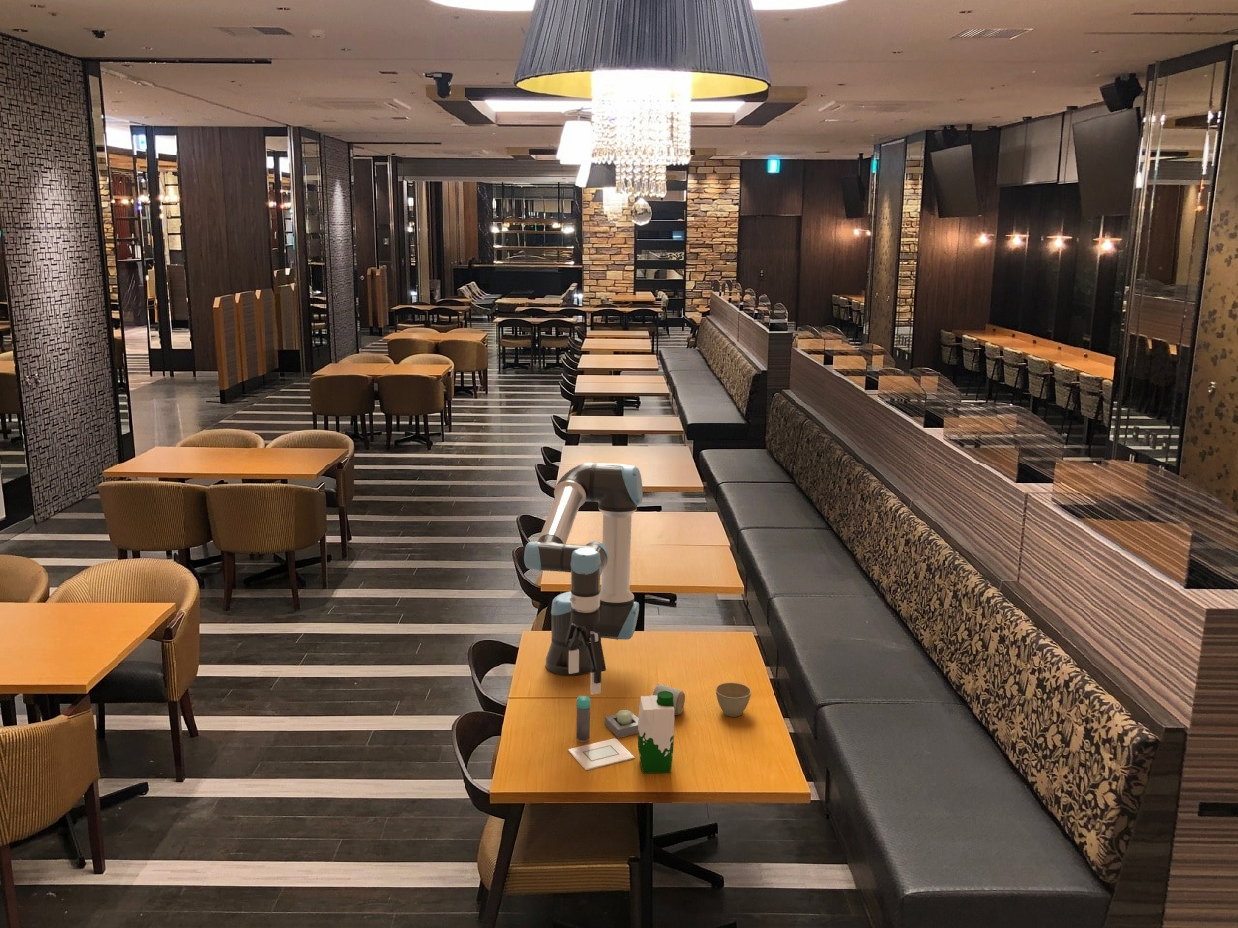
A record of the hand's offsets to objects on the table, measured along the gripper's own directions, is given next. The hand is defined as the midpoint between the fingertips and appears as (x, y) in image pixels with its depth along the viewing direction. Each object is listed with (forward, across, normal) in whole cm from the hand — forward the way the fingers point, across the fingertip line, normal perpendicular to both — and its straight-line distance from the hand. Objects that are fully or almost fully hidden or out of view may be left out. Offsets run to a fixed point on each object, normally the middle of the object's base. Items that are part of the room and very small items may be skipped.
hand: (584, 682), depth 277 cm
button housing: (+17, -1, +13) cm, 21 cm away
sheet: (+17, +9, +1) cm, 19 cm away
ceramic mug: (+17, -5, +29) cm, 34 cm away
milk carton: (+17, +20, +11) cm, 28 cm away
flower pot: (+17, +4, +45) cm, 48 cm away
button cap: (+15, -1, +13) cm, 20 cm away
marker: (+17, 0, 0) cm, 17 cm away
